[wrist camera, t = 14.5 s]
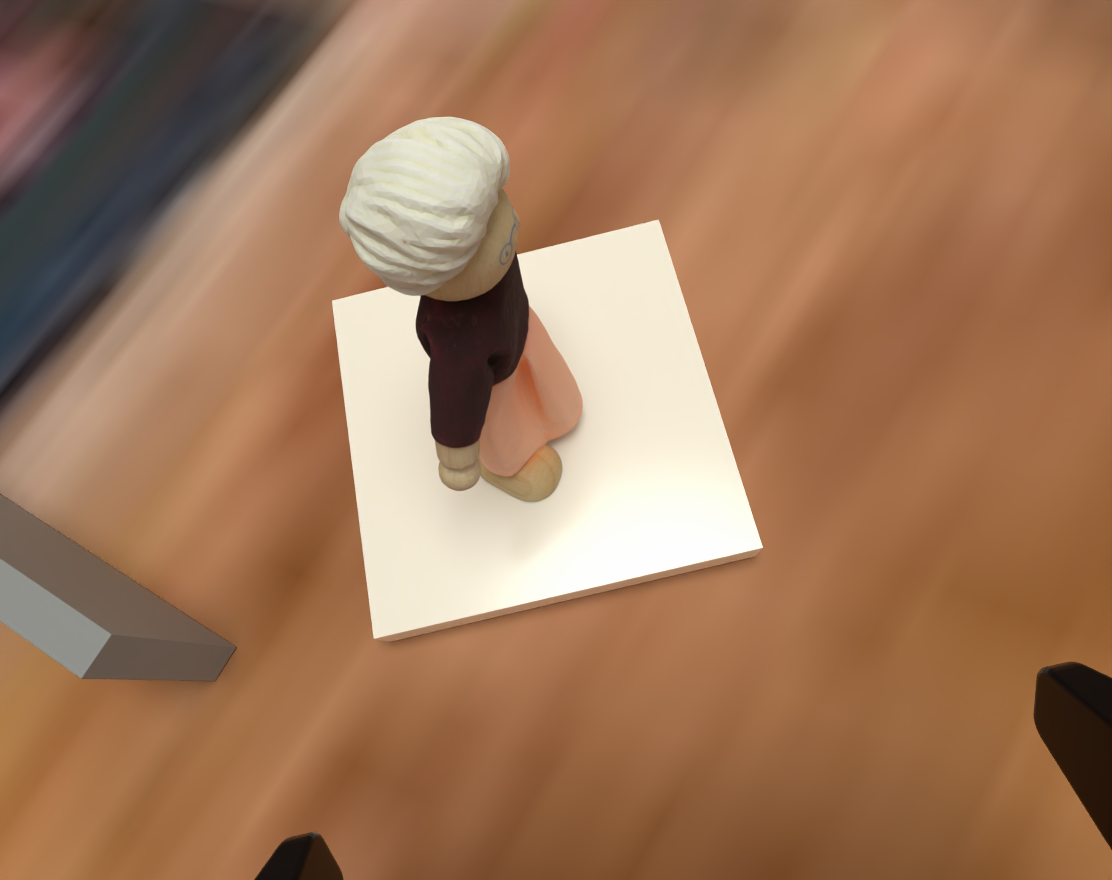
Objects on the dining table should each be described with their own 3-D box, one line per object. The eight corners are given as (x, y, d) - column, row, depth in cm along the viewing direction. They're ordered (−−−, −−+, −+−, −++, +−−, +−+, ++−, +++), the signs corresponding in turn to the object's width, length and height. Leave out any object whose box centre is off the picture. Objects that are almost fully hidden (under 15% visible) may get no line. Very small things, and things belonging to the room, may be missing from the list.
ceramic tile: (754, 556, 23) (762, 547, 22) (389, 641, 23) (373, 638, 22) (657, 244, 27) (658, 219, 26) (347, 320, 27) (332, 300, 26)
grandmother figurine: (595, 527, 22) (547, 340, 10) (473, 539, 23) (289, 371, 11) (574, 307, 25) (516, -46, 13) (464, 320, 25) (308, -12, 13)
